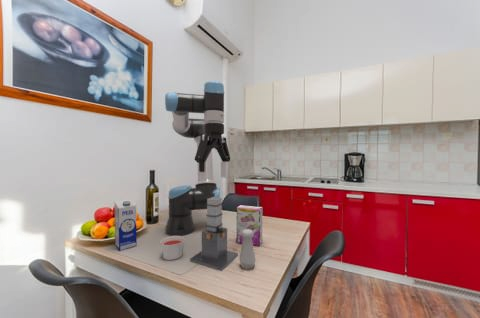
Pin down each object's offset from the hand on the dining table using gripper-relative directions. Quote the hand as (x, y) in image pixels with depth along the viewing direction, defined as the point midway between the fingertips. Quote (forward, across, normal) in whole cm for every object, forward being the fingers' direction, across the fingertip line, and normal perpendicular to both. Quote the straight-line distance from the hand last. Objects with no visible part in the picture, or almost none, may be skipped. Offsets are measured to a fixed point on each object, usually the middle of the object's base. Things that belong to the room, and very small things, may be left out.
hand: (214, 179), depth 78 cm
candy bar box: (+31, +19, -6) cm, 37 cm away
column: (+29, 0, 0) cm, 29 cm away
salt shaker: (+31, +1, -13) cm, 34 cm away
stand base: (+31, 0, 0) cm, 31 cm away
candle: (+31, -6, +16) cm, 35 cm away
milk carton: (+31, -9, +41) cm, 52 cm away
